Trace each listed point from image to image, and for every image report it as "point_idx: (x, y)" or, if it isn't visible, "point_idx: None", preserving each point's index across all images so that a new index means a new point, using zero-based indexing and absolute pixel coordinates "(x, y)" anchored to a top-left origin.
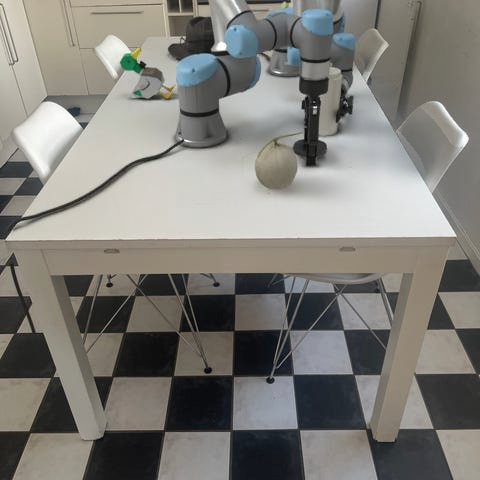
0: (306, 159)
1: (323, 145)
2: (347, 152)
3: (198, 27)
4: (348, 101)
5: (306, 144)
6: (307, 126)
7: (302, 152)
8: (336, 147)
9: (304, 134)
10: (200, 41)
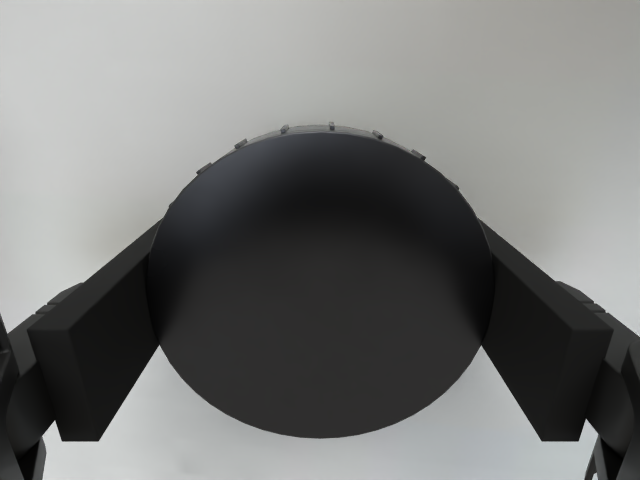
0: (137, 240)
1: (318, 414)
2: (391, 476)
3: None
4: None
5: (343, 276)
6: (612, 379)
7: (162, 221)
8: (473, 431)
9: (523, 286)
10: None
